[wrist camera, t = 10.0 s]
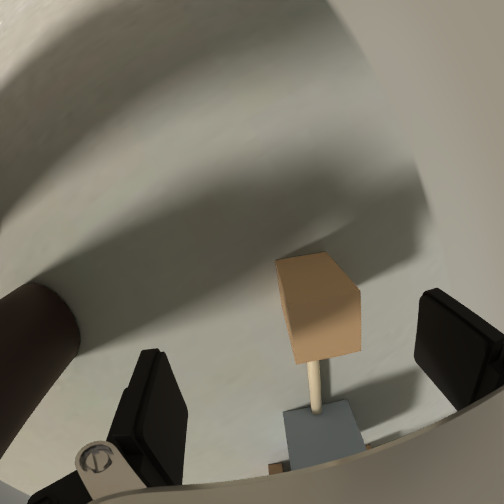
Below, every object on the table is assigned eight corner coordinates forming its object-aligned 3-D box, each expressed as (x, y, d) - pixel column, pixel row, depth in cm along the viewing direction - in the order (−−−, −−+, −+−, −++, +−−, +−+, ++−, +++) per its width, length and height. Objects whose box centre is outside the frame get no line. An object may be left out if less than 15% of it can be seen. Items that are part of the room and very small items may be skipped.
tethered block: (257, 263, 18) (263, 308, 12) (341, 248, 18) (382, 286, 12) (288, 448, 22) (296, 504, 17) (345, 437, 22) (362, 489, 16)
